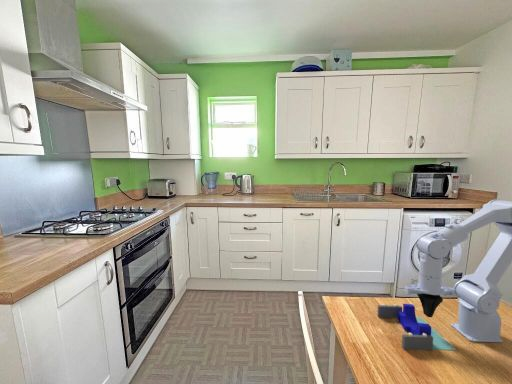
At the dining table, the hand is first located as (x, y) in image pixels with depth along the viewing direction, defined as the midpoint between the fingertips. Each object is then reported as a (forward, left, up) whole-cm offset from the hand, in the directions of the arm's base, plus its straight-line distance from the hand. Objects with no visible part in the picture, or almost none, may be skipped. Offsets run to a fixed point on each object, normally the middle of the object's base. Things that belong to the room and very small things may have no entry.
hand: (427, 315), depth 73 cm
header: (+8, 0, -6) cm, 10 cm away
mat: (+1, 0, -6) cm, 6 cm away
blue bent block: (+5, 0, -6) cm, 7 cm away
